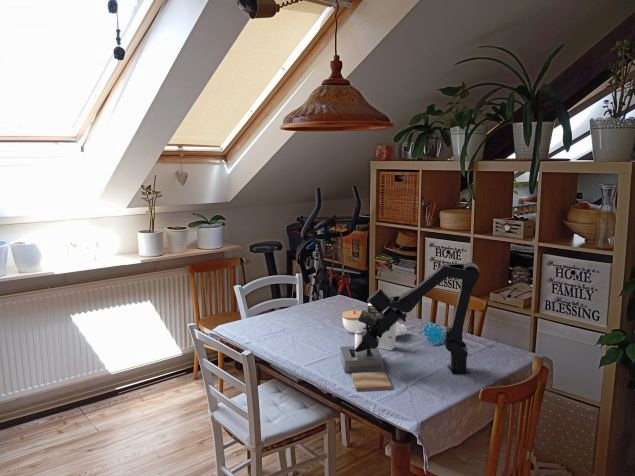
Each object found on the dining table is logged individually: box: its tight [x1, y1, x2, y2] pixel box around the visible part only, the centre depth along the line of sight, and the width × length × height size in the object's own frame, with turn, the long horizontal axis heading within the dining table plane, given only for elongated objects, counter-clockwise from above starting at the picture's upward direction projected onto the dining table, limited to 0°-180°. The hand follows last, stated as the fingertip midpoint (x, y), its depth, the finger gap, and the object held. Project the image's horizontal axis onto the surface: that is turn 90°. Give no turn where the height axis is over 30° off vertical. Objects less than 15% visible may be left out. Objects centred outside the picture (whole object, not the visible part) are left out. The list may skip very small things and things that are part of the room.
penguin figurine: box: [395, 321, 407, 338], centre depth 229 cm, size 6×8×12 cm
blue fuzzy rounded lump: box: [422, 322, 446, 346], centre depth 223 cm, size 11×6×10 cm
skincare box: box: [377, 323, 396, 351], centre depth 216 cm, size 6×4×12 cm
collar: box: [339, 345, 384, 374], centre depth 201 cm, size 14×14×4 cm
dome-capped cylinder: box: [354, 329, 367, 357], centre depth 200 cm, size 4×4×13 cm
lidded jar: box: [342, 309, 366, 334], centre depth 237 cm, size 11×11×9 cm
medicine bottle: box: [367, 292, 386, 316], centre depth 255 cm, size 7×7×12 cm
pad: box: [351, 371, 393, 392], centre depth 186 cm, size 12×12×1 cm
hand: (357, 347), depth 200 cm, fingers open, 8 cm apart
